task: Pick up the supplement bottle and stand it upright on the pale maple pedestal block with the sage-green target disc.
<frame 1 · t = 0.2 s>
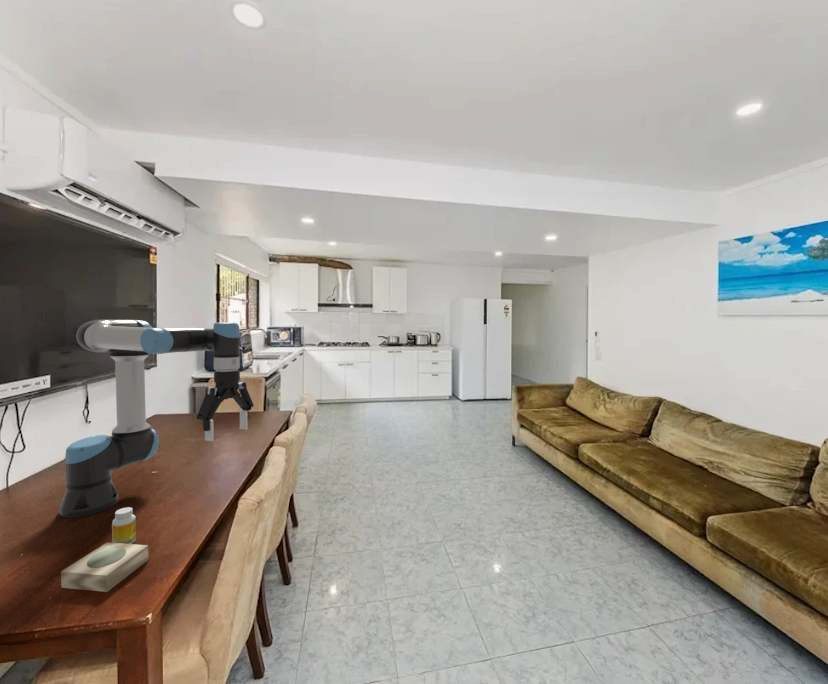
hand: (227, 434, 120), 28 cm above the table, fingers open, 13 cm apart
supplement bottle: (124, 543, 106), on the table
pedestal: (107, 572, 93), on the table
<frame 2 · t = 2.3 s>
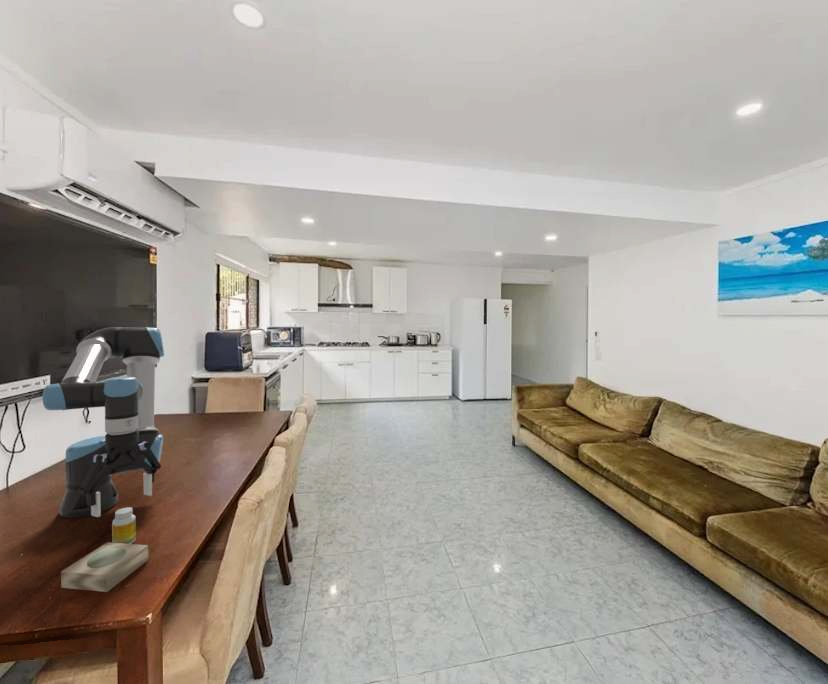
hand: (123, 504, 105), 11 cm above the table, fingers open, 13 cm apart
nothing on the table moved.
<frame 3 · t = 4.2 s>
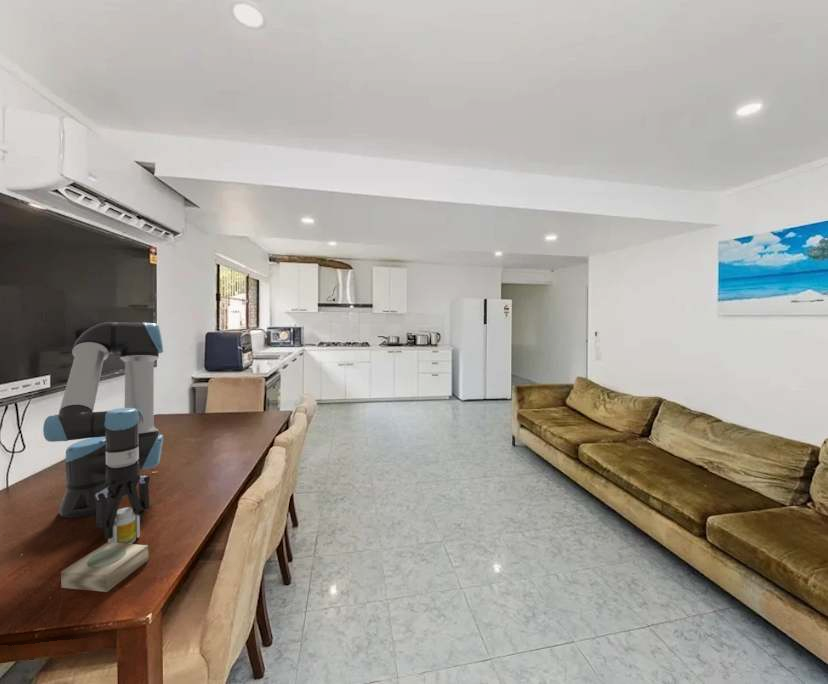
hand: (124, 541, 106), 0 cm above the table, fingers closed on supplement bottle, 5 cm apart
supplement bottle: (124, 543, 106), on the table, touching gripper
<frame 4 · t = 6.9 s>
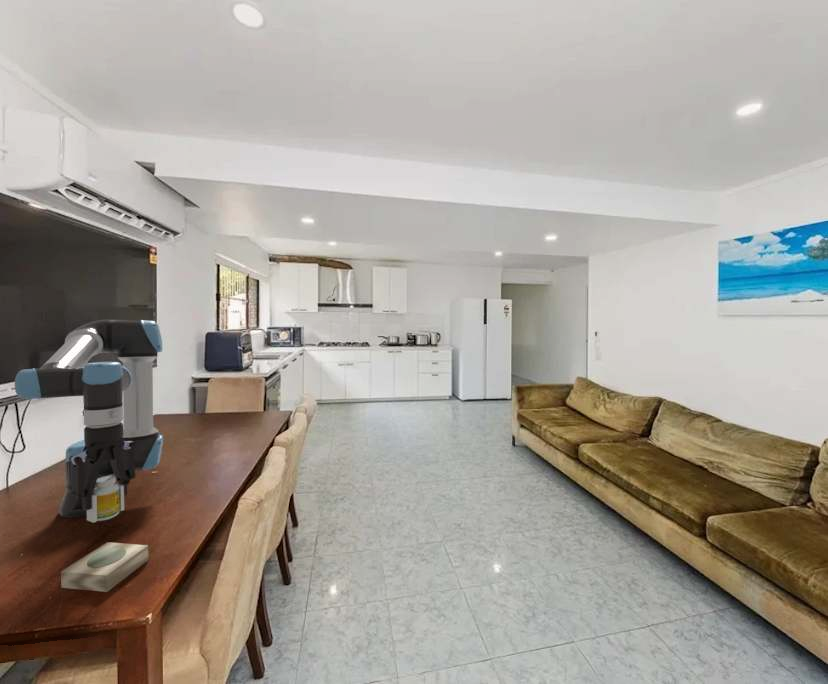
hand: (106, 514, 93), 15 cm above the table, fingers closed on supplement bottle, 5 cm apart
supplement bottle: (106, 516, 93), point 15 cm above the table, touching gripper
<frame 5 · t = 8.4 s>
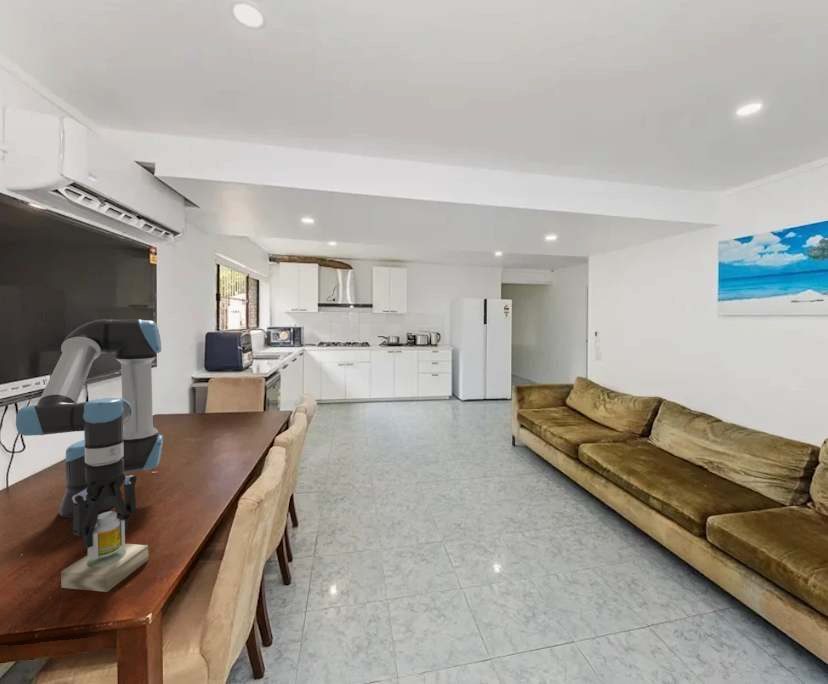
hand: (106, 550, 93), 6 cm above the table, fingers closed on supplement bottle, 5 cm apart
supplement bottle: (107, 552, 93), point 5 cm above the table, touching gripper
when the fingers open (5 cm above the table, at t = 9.5 s): supplement bottle stays where it is, resting on pedestal.
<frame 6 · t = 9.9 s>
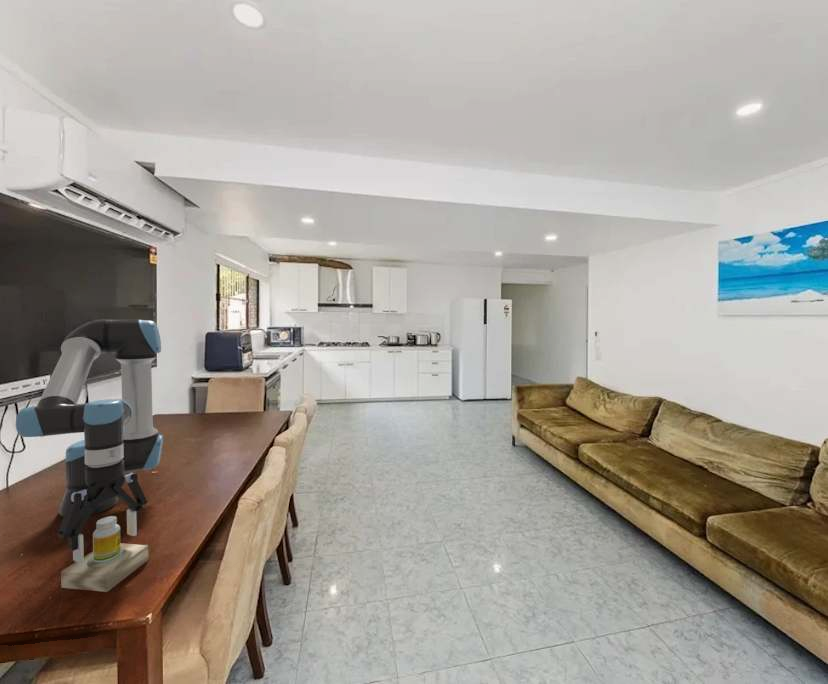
hand: (106, 547, 93), 7 cm above the table, fingers open, 11 cm apart
supplement bottle: (107, 557, 93), point 4 cm above the table, touching pedestal
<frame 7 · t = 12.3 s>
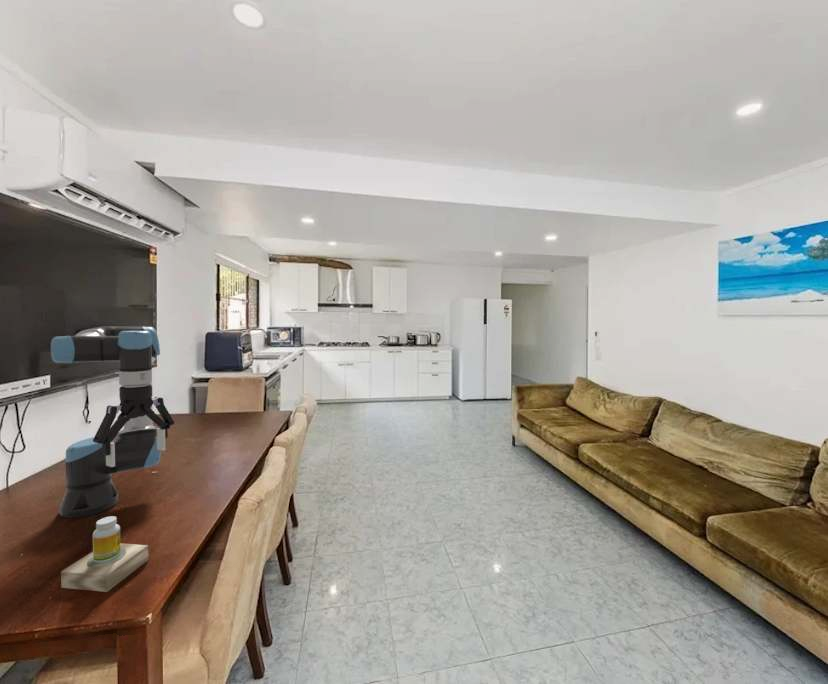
hand: (137, 457, 106), 25 cm above the table, fingers open, 13 cm apart
nothing on the table moved.
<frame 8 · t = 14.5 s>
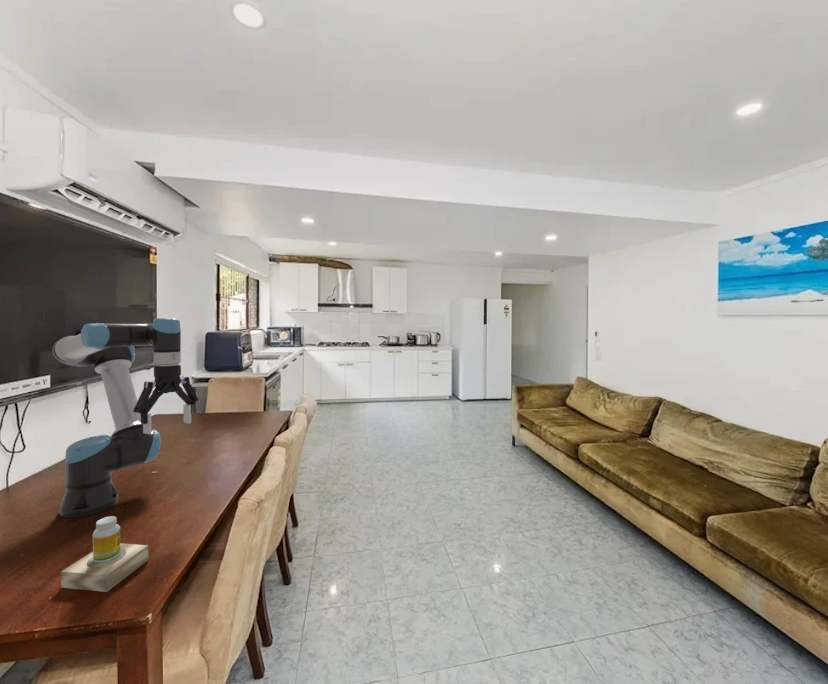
hand: (168, 428, 123), 29 cm above the table, fingers open, 13 cm apart
nothing on the table moved.
at the end: supplement bottle 0.0 cm from the pedestal (horizontally); supplement bottle touching pedestal; supplement bottle tilted 0° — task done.
